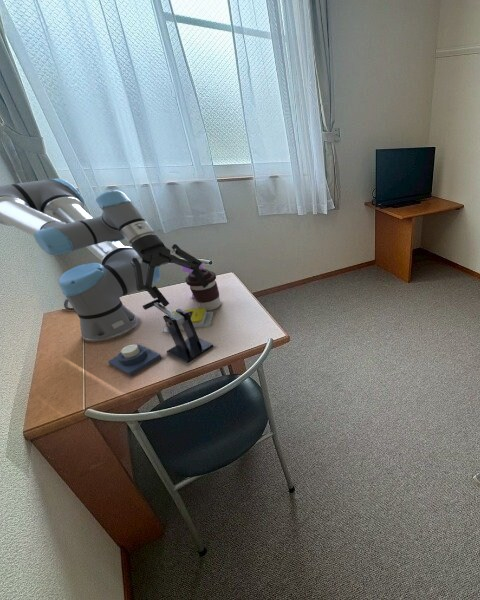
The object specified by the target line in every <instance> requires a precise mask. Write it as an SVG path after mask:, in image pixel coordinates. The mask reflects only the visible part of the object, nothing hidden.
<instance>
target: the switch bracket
mask: <svg viewBox="0 0 480 600" xmlns="http://www.w3.org/2000/svg"><path fill="white" fill-rule="evenodd" d="M184 310H185V309H181V308H177V309H175V311H176V312H177V313H179V314H180V315H182V316H183V317H184V321H185V322H184V323H183V324H182V326H183V328H184V329H183V331H184V334H185V335H186V337H187V339H185V338H184V335H183V333H182V330H180V329H179V326H178V324H177V322H176V319H174V318H172V317H170V316H168V315H167V314H165V315H163V316H162V318H163V320H164V322H165V325H167V327H168V329H169V331H170V332H169V333H170V336H171V338H172V340H173V343H174V345H175V346H173V347H171V348H169V349H167V350H166V354H167V355H169V356H172V357H173V358H175V359H177V360H180V361H181V362H184V363H185V364H190V363H191V362H193V361H194V360H196V359H197V358H199V357H200V356H202V355H203V354H206V352H208V351H210V350H211V349H212V348H214V345H213V344H212V343H210V342H208V341H205V340H204V339H201V338H199V336H198V334H197V331H196V328H194V326H193V323H192V321H191V318H190V316H189V313H188V312H186V311H184Z"/></svg>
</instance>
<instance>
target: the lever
mask: <svg viewBox="0 0 480 600" xmlns="http://www.w3.org/2000/svg"><path fill="white" fill-rule="evenodd" d="M153 307H155V308H156V309H158V310H160V311H161V312H162V313H164V314H165V315H167V316H170V317H172V318H174V319H176V322H177V324H178V326H179V325H181V324H183V323H184V322H185V321H184V317H183V316H182V315H180V314H179V313H175V314H174V313H172V312H173V311H171V310H170V309H168V308H166V307H164V306H163V305H162V303H161V302H160V301H159V300H158V298H156V299H153V300H152V301H150V302H148V303H145V304H143V305H142V308H143V309H144V310H145V311H146V310H148V309H150V308H153Z"/></svg>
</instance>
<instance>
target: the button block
mask: <svg viewBox="0 0 480 600" xmlns="http://www.w3.org/2000/svg"><path fill="white" fill-rule="evenodd" d="M136 345H137V346H138V348H139V350H140V353H139V354H137V355H136V356H134V357H130V358H125V357H124V356H123V354H122V353H121V351H120V352H119V353H118V354H117V355H116V356H114V357H113V358H111V359H108V360H107V363H108V364H109V366H111V367H113V368H115V369H116V370H118V371H120V372H122V373H124V374H125V375H127V376H129V377H133V376H134V375H136V374H138V373H140V372H141V371H143V370H145V369H146V368H148V367H150V366H151V365H153V364H154V363H156V362H158V361H159V360H161V359H162V358H163V357H162V355H161V354H160V353H158V352H156V351H154V350H152V349H151V348H148V347H146V346H144V345H142V344H136Z"/></svg>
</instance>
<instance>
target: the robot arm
mask: <svg viewBox="0 0 480 600" xmlns="http://www.w3.org/2000/svg"><path fill="white" fill-rule="evenodd" d="M95 202H96V204H97V205H98V206H99V209H101V210H102V213H101V215H99V216H94V217H92V216H91V215H90V214H89V213H88V212H86V210H85V200H84V198H83V196H82V194H81V193H80V192H79V190H78V189H77V188H76V187H75V186H74V185H73V184H72V183H71V182H69V181H67V180H66V179H63V178H43V179H42V180H35V181H27V182H19V183H13V184H4V185H3V184H2V185H0V224H1V225H3V226H8V227H14V228H16V229H18V230H20V231H22V232H24V233H26V234H28V235H30V236H32V237H33V238H34V240H35V242H36V243H37V244H38V246H39V248H41V250H43V251H44V252H45V253H46V254H48V255H50V256H57V255H58V256H59V255H61V254H68V253H71V252H73V251H74V252H75V251H76V250H77V251H78V250H80V249H83V248H86V249H87V250H89V251H90V252H91V253H92V254H93V255H94V256H95V257H96V258H98V260H100V263H99V262H90V263H89V262H88V263H86V264H85V263H84V264H80V265H76V266H75V267H72V268H70V269H68V270H67V271H65V272H63V273H62V274H61V276H60V277H59V278H58V285H59V287H60V290H61V292H62V294H63V295H64V296H65V297H66V298H65V299H64V302H63V307H64V309H65V310H67V311H74V312H75V314H76V315H77V316H78V318H79V325H80V334H81V337H82V338H83V340H84V341H85V342H86V343H87V342H88V343H102V342H107V341H111V340H112V341H113V340H115V339H117V338H119V337H122V336H125V335H126V334H128V333H130V332H131V331H133V330H134V329H135V328H136V327H137V326H138V324H139V319H138V317H137V316H136V314H135V313H134V312H132V311H131V310H130V309H129V308H127V307H126V305H124V304H123V302H122V300H121V298H122V297H124V296H127V295H129V294H132V293H134V292H136V291H138V292H142V291H145V292H147V293H148V294H149V295H150V296H151V298H152V299H153V300H156V299H158V300H159V301H160V302H161V303H160V304H161V305H162V306H164V307H165V308H166V307H168V305H170V302H169V301H168V299H167V298H166V297H165V296H164V295H163V294H162V292H161V291H160V290H159V288H158V287H157V286H156V285H153V284H155V283H157V282H159V281H160V280H161V276H162V275H161V269H160V267H161V266H164V265H167V264H168V263H170V264H175V265H178V266H180V267H182V266H183V267H186V268H189V269H191V270H193V271H192V273H193V275H194V276H195V277H196V278H197V280H198V281H199V282H200V284H201V285H202V286H203V288H205V287H207V286H208V285H209V284H208V283H207V282H206V280H205V279H204V278H203V276H204V274H203V273H202V271H201V270H200V269H199V266H200V265H203V261H201V260H200V259H198V258H197V257H194V256H193V255H191V254H190V253H188V252H186V251H184V249H181V248H180V246H179V245H178V244H176V243H174V244H172V245H171V246H170V247H167V246H166V245H165V244H164V242H163V241H162V239H161V237H159V235H158V234H156V233H155V230H154V229H153V228H152V227H151V225H150V224H149V223H148V222H147V220H146V219H145V217H144V216H143V215H142V213H141V212H140V210H138V208H137V207H136V206H135V205H134V203H133V202H132V200H131V199H129V197H128V196H127V195H126V194H125V192H124V191H121V190H117V189H113V190H107V191H104V192H102V193H100V194H99V195H97V197H96V200H95ZM124 240H126V241H127V242H128V243H129V244H131V246H127V245H126V246H125V245H124V244H123V243H122V242H121V241H124ZM171 253H172V254H171ZM174 254H175V255H174ZM176 255H177V256H178V257H177V256H176ZM68 303H69V304H70V305H71V307H70V306H69V305H68Z"/></svg>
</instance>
